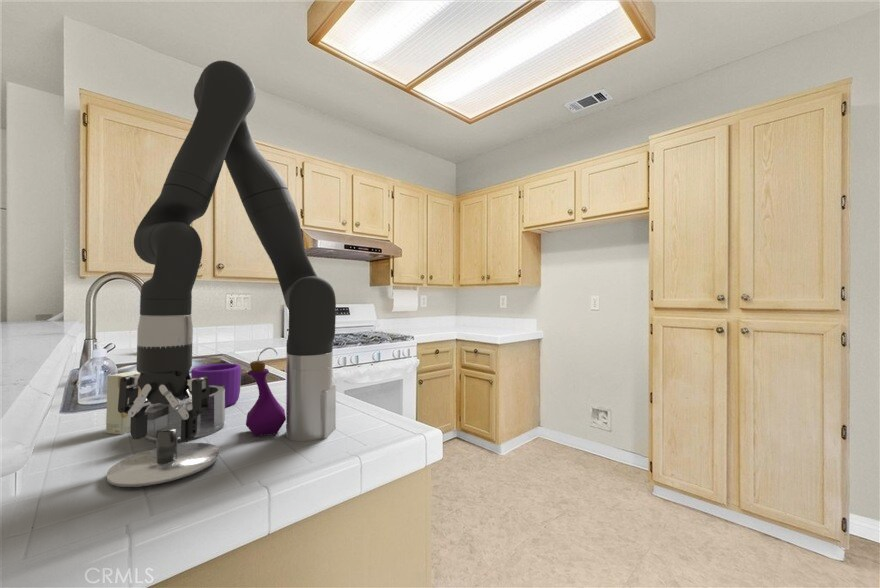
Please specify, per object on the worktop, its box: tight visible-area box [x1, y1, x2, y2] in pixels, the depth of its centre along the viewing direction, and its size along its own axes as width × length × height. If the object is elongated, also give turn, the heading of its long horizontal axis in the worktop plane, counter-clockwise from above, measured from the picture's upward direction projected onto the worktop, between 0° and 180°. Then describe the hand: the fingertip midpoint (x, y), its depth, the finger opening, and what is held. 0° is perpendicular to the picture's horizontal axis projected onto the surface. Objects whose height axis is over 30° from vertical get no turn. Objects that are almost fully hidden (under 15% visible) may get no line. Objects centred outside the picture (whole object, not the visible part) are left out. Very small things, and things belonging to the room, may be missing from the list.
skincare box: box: [105, 370, 141, 435], centre depth 82 cm, size 6×4×12 cm
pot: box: [145, 385, 226, 443], centre depth 81 cm, size 14×22×8 cm, turn 177°
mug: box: [190, 363, 242, 408], centre depth 103 cm, size 17×11×10 cm, turn 44°
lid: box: [106, 427, 220, 488], centre depth 63 cm, size 15×15×7 cm
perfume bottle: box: [245, 346, 286, 437], centre depth 81 cm, size 8×8×18 cm
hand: (163, 439), depth 63 cm, fingers open, 8 cm apart
